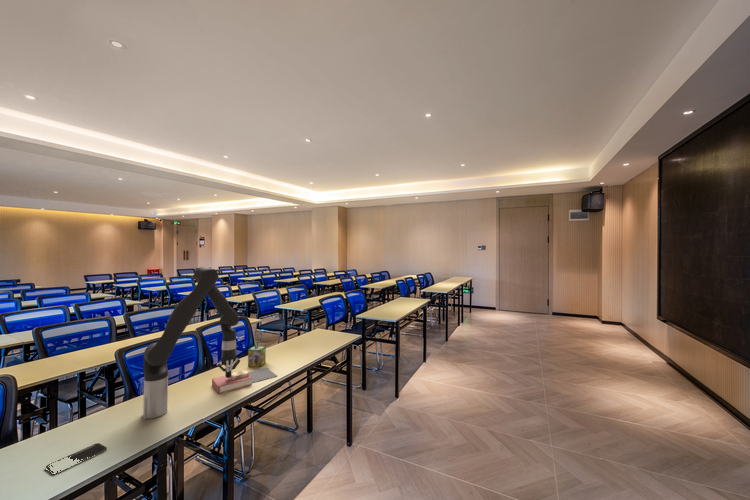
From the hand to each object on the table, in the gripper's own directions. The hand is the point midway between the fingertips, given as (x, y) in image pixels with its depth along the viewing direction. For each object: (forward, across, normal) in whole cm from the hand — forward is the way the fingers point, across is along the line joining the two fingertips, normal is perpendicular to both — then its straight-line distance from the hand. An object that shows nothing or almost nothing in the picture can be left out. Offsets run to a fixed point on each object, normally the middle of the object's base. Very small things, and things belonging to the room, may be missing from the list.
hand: (228, 377), depth 172 cm
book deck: (+5, +2, 0) cm, 5 cm away
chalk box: (+5, +25, +24) cm, 35 cm away
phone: (+6, -60, -30) cm, 67 cm away
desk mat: (+5, +20, +4) cm, 20 cm away
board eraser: (+1, +6, 0) cm, 6 cm away
